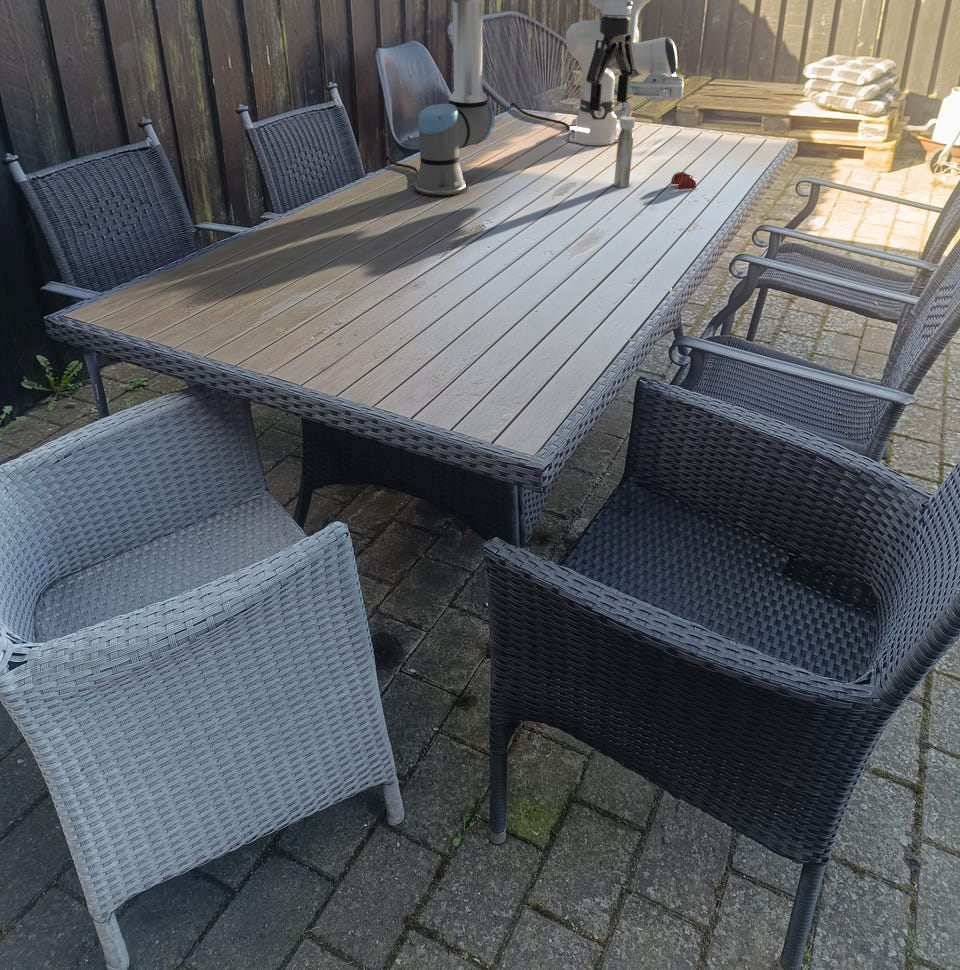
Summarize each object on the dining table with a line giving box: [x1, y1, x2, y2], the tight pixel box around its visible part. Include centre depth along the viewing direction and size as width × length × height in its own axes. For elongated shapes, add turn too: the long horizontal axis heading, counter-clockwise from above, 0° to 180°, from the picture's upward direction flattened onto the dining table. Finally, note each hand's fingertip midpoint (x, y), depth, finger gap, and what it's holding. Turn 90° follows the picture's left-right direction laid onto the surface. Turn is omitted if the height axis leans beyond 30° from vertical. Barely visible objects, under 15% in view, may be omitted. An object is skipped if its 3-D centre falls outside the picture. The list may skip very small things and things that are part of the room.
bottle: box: [613, 128, 634, 189], centre depth 257 cm, size 5×5×19 cm
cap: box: [618, 116, 636, 130], centre depth 251 cm, size 4×4×3 cm
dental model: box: [670, 171, 697, 190], centre depth 260 cm, size 6×4×8 cm
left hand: (608, 106), depth 226 cm, fingers open, 13 cm apart
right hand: (646, 93), depth 264 cm, fingers open, 8 cm apart
